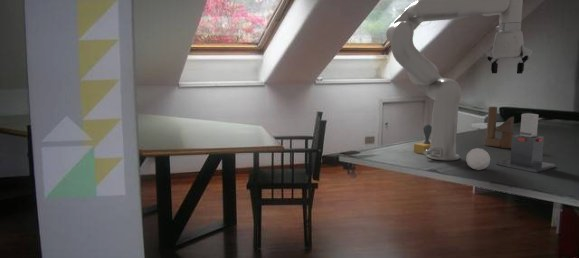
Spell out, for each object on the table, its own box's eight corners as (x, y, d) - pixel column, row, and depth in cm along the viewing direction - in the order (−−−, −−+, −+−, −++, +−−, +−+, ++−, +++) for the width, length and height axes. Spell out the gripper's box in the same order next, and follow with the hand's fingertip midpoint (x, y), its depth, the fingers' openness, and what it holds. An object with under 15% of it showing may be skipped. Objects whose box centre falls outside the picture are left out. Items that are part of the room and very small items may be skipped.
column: (528, 164, 151) (532, 115, 149) (517, 162, 155) (521, 114, 152) (534, 162, 154) (539, 114, 151) (523, 160, 157) (527, 113, 155)
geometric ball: (477, 175, 152) (486, 156, 153) (488, 173, 144) (498, 153, 146) (458, 164, 153) (468, 146, 154) (468, 161, 145) (478, 142, 146)
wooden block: (508, 148, 185) (512, 108, 183) (484, 145, 193) (486, 106, 190) (511, 147, 188) (515, 107, 185) (487, 144, 196) (490, 106, 193)
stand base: (535, 172, 145) (538, 141, 143) (496, 164, 157) (499, 135, 155) (555, 166, 153) (558, 137, 151) (516, 159, 164) (519, 132, 163)
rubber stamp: (424, 154, 175) (425, 126, 173) (413, 152, 180) (414, 124, 178) (439, 151, 180) (441, 124, 178) (428, 149, 185) (429, 122, 183)
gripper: (482, 29, 165) (480, 73, 168) (529, 26, 152) (525, 73, 154) (492, 30, 170) (489, 73, 172) (538, 27, 156) (534, 73, 159)
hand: (506, 73), depth 163 cm, fingers open, 9 cm apart
